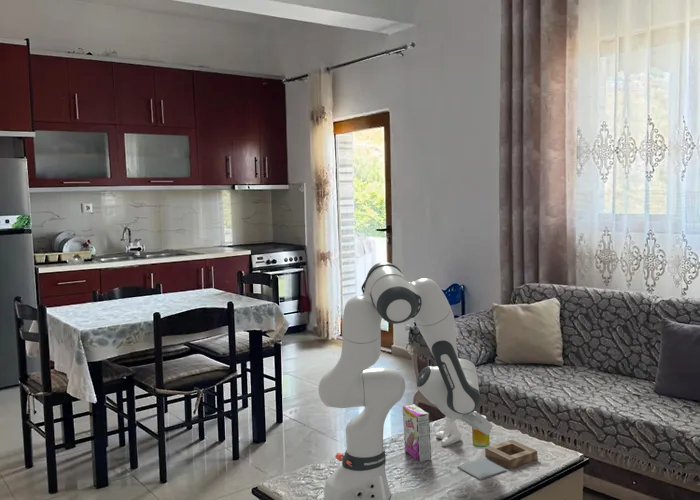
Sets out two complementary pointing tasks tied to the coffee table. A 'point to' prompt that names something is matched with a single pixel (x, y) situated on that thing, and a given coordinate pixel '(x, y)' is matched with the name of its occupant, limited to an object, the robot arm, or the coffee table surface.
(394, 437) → the coffee table surface
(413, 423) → the candy bar box
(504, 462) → the pocket block
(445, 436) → the sitting furry creature
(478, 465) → the rubber mat
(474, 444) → the supplement bottle
